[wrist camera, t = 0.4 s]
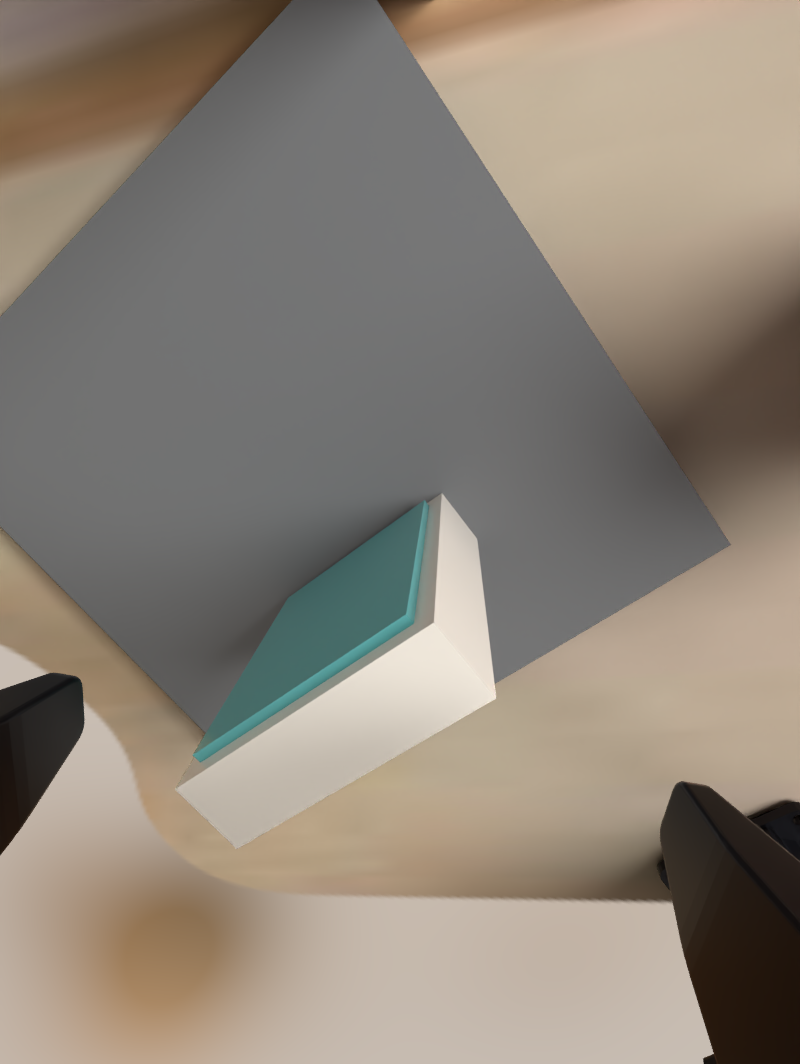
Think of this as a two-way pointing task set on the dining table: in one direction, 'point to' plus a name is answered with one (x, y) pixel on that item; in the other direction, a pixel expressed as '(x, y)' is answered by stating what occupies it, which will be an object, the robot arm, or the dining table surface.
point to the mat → (320, 376)
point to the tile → (350, 676)
